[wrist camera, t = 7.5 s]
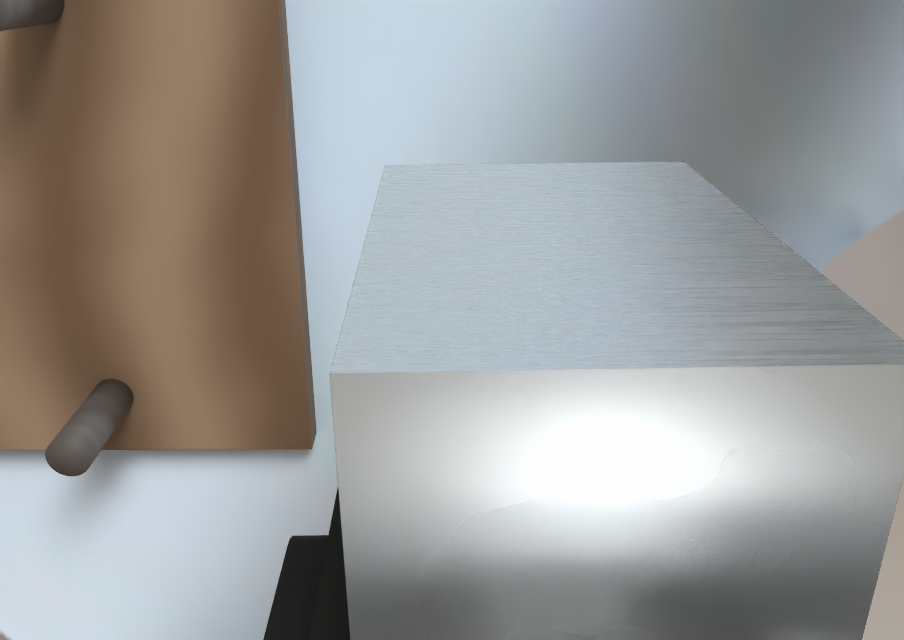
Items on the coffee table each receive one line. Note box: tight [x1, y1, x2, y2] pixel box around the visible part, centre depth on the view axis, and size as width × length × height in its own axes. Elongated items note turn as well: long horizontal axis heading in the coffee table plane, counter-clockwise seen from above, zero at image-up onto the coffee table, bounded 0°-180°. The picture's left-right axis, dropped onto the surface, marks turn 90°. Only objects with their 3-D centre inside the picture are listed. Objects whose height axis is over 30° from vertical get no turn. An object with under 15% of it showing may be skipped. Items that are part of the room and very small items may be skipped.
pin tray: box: [0, 0, 316, 476], centre depth 25 cm, size 14×18×5 cm
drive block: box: [330, 161, 904, 640], centre depth 10 cm, size 4×10×6 cm, turn 1°
